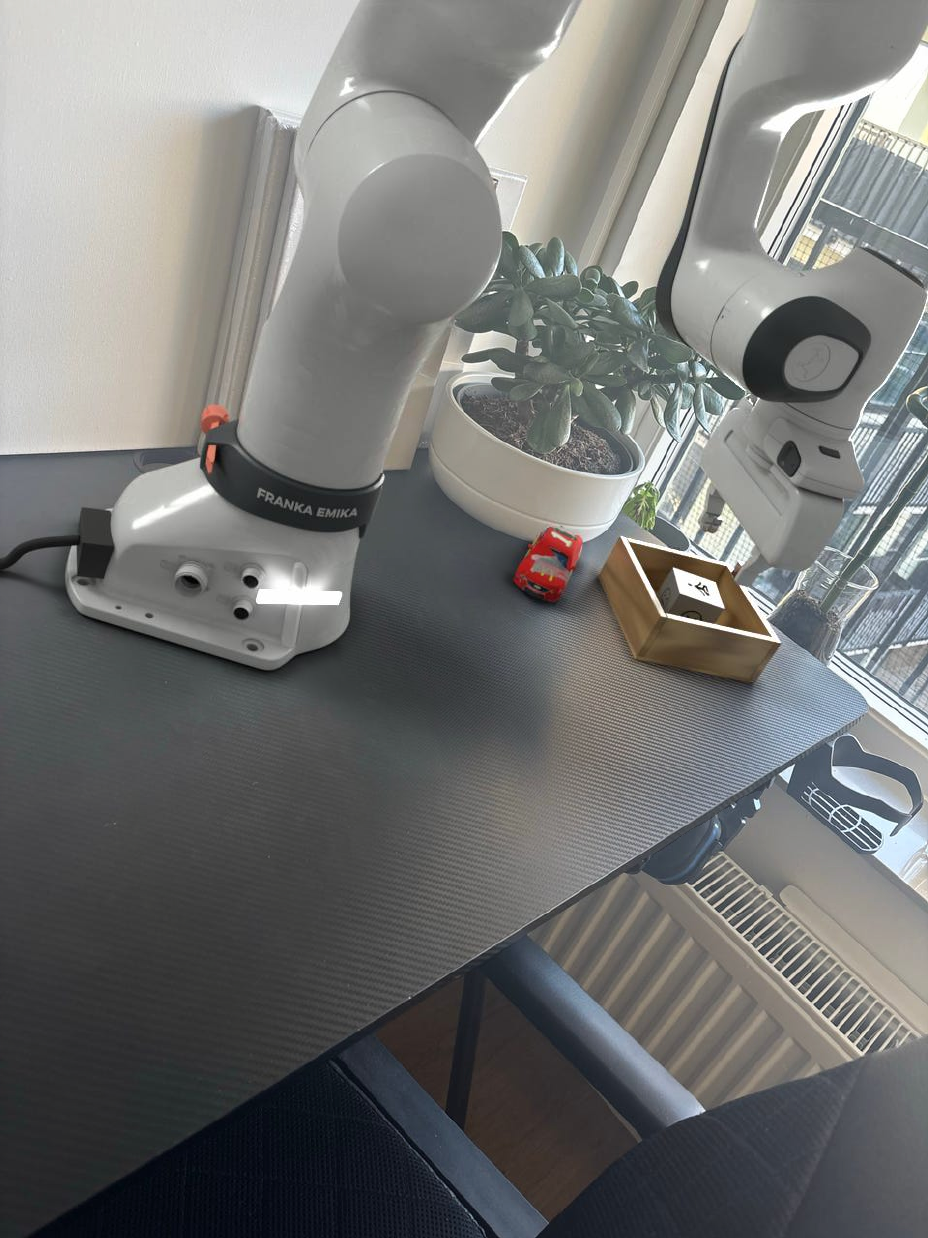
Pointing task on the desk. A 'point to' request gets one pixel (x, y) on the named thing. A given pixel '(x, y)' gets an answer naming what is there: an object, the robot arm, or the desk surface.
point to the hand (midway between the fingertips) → (721, 554)
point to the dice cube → (690, 597)
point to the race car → (549, 564)
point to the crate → (677, 641)
